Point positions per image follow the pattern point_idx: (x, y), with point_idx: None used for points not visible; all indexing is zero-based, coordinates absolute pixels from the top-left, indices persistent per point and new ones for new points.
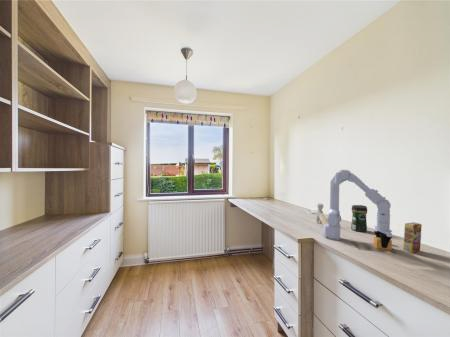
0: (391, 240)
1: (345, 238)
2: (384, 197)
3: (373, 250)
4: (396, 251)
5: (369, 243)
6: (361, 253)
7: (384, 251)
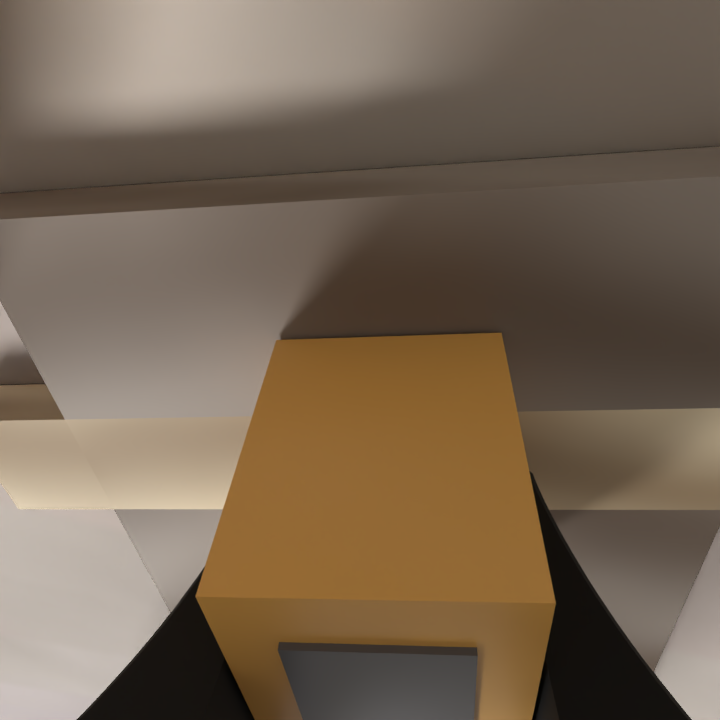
0: (538, 607)
1: (26, 676)
2: None
3: (630, 630)
4: (610, 245)
5: (181, 568)
6: (679, 696)
7: (665, 510)
